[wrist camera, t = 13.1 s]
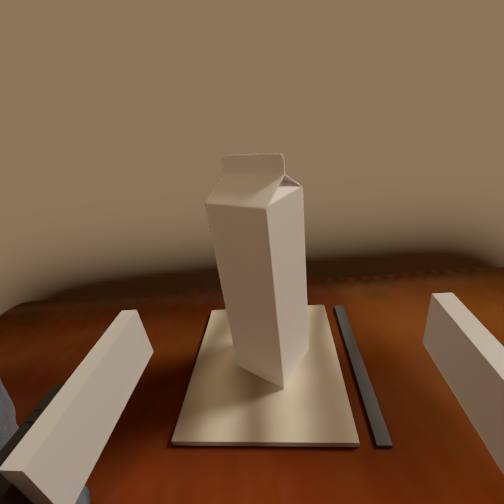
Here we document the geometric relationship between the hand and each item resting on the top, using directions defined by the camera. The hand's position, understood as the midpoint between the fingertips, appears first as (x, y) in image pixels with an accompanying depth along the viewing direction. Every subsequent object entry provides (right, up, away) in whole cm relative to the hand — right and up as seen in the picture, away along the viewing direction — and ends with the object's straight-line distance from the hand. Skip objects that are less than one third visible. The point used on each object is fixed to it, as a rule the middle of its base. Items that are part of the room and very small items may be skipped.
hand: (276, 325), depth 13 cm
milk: (+1, -9, +19) cm, 21 cm away
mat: (+2, -9, +19) cm, 21 cm away
